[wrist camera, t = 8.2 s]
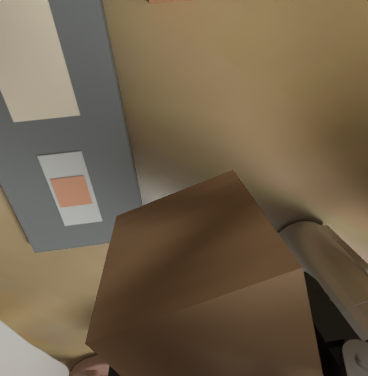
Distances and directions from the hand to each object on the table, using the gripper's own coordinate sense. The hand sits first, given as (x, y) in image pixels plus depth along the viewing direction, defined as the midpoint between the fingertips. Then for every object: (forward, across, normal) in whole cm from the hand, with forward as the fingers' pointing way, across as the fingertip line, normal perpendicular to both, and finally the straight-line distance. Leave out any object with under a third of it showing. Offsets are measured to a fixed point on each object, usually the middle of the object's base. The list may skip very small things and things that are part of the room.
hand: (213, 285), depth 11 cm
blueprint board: (+22, +14, -6) cm, 27 cm away
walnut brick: (+1, 0, 0) cm, 1 cm away
